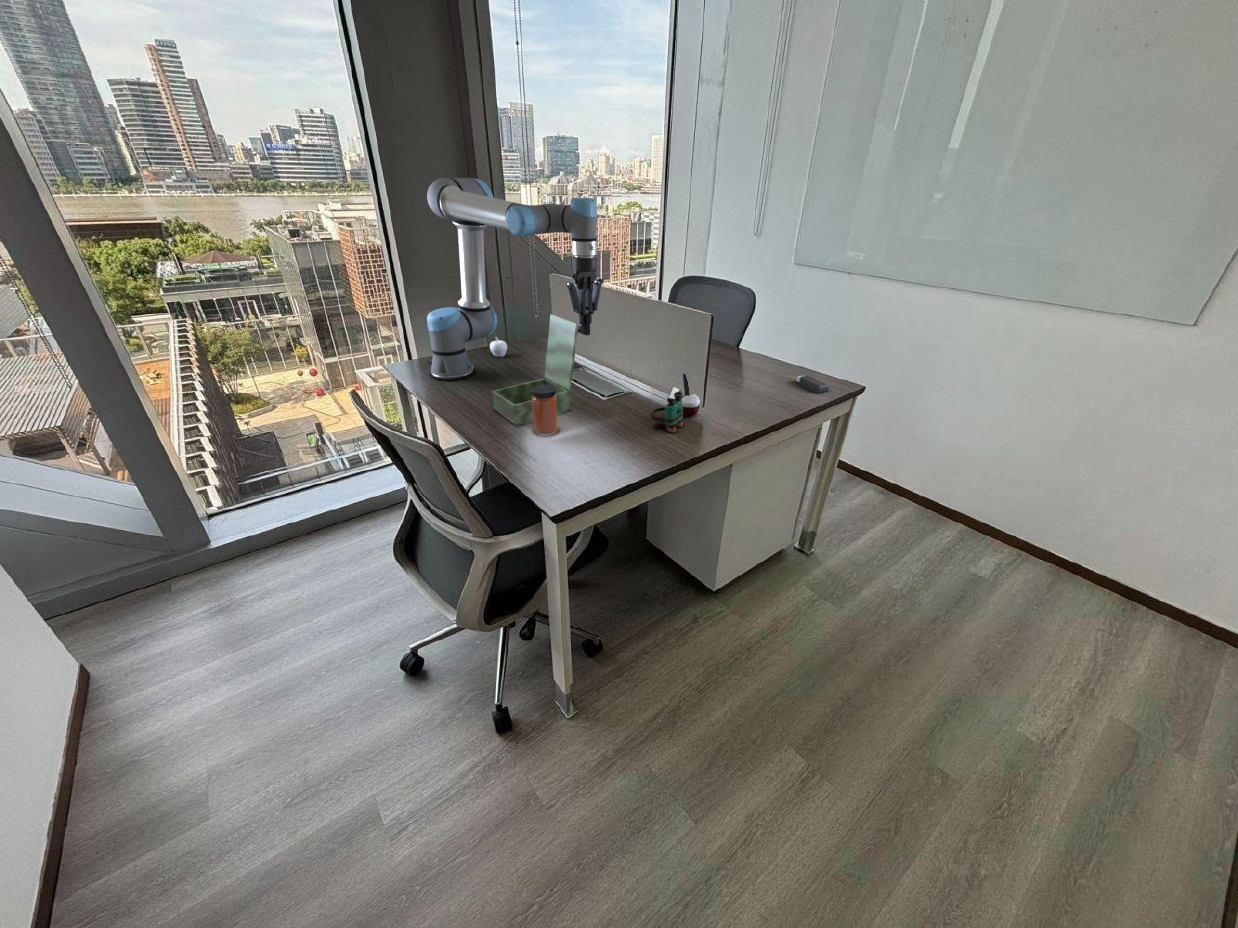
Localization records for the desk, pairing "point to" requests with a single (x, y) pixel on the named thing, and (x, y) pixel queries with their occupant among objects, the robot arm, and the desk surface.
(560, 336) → the lid
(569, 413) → the desk surface
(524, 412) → the chest
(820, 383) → the usb drive
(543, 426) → the jar
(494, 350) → the plain white apple
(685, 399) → the rice bowl with chopsticks
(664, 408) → the binoculars
